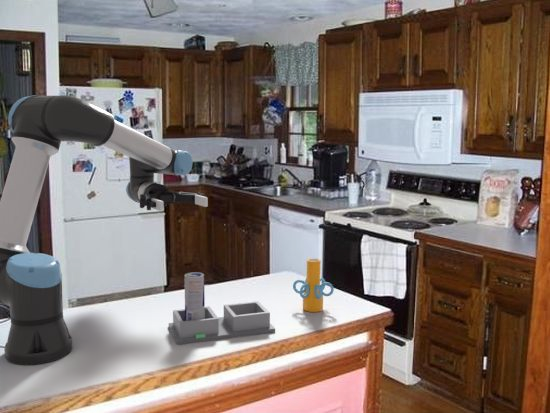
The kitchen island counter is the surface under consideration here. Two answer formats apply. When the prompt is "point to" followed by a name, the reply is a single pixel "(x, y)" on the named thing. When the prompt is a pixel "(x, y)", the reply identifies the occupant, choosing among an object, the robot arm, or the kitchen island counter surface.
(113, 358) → the kitchen island counter surface
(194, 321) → the double square planter tray
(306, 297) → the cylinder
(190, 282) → the beverage can
